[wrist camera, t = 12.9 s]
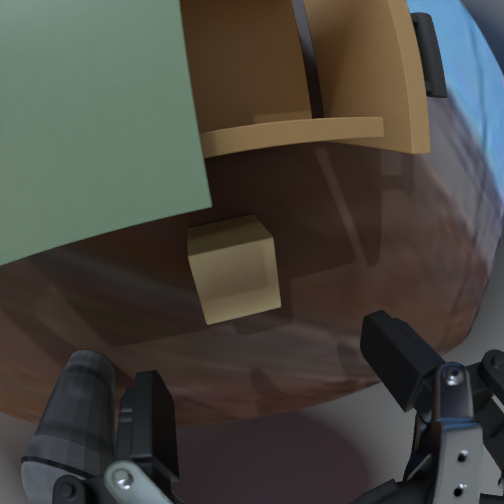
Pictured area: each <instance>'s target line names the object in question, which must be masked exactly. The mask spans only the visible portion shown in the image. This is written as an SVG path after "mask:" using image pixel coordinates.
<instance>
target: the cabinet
mask: <svg viewBox="0 0 504 504" xmlns="http://www.w3.org/2000/svg"><path fill="white" fill-rule="evenodd" d="M211 207H212V200H211V194H210V189H209V184H208V179H207V173H206V168H205V162H204V157H203V151H202V145H201V140H200V134H199V128H198V122H197V116H196V110H195V104H194V98H193V91H192V85H191V78H190V72H189V65H188V58H187V51H186V44H185V37H184V30H183V22H182V14H181V6H180V0H0V266H2V265H5V264H8V263H10V262H13V261H16V260H19V259H22V258H25V257H28V256H31V255H34V254H37V253H41V252H44V251H47V250H50V249H53V248H57V247H60V246H63V245H66V244H70V243H73V242H77V241H80V240H83V239H87V238H90V237H94V236H97V235H101V234H105V233H108V232H112V231H116V230H119V229H123V228H127V227H131V226H135V225H139V224H143V223H147V222H151V221H155V220H159V219H163V218H167V217H171V216H175V215H180V214H184V213H188V212H193V211H197V210H202V209H206V208H211Z"/></svg>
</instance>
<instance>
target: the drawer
mask: <svg viewBox="0 0 504 504" xmlns="http://www.w3.org/2000/svg"><path fill="white" fill-rule="evenodd" d="M303 1H304V6H305V10H306V14H307V19H308V23H309V28H310V33H311V37H312V43H313V48H314V53H315V59H316V64H317V70H318V76H319V83H320V89H321V96H322V103H323V111H324V118H318V119H312V113H311V106H310V99H309V92H308V85H307V79H306V73H305V67H304V61H303V55H302V50H301V44H300V39H299V34H298V29H297V24H296V20H295V15H294V11H293V6H292V2H291V0H180V6H181V14H182V22H183V30H184V37H185V44H186V51H187V58H188V65H189V72H190V78H191V85H192V91H193V98H194V104H195V110H196V116H197V122H198V128H199V134H200V140H201V145H202V151H203V157H204V158H209V157H214V156H219V155H225V154H230V153H236V152H242V151H248V150H255V149H261V148H268V147H275V146H283V145H291V144H300V143H309V142H320V141H327V142H332V143H341V144H350V145H357V146H365V147H372V148H378V149H385V150H391V151H396V152H402V153H407V154H412V155H414V154H430V131H429V117H428V106H427V97H426V96H428V97H436V98H447V92H446V84H445V77H444V71H443V65H442V60H441V55H440V50H439V46H438V41H437V37H436V33H435V29H434V25H433V22H432V18H431V16H430V15H429V14H427V13H421V12H417V13H410V12H409V9H408V6H407V2H406V0H303Z"/></svg>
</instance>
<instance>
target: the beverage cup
mask: <svg viewBox="0 0 504 504" xmlns="http://www.w3.org/2000/svg"><path fill="white" fill-rule="evenodd" d="M115 376H116V374H115V369H114V367H113V365H112V364H111V363H110V361H109V360H108V359H106V358H105V357H103V356H102V355H100V354H98V353H96V352H93V351H89V350H78V351H76V352H74V353H73V354H72V355H71V356H70V359H69V361H68V362H67V364H66V366H65V367H64V368H63V370H62V372H61V375H60V377H59V379H58V381H57V383H56V385H55V387H54V390H53V392H52V394H51V396H50V399H49V401H48V403H47V406H46V408H45V410H44V413H43V415H42V418H41V420H40V423H39V425H38V428H37V431H36V433H35V436H34V437H33V438H32V439H31V441H30V443H29V445H28V447H27V449H26V451H25V455H24V456H23V457H22V458H21V464H22V471H21V474H22V482H23V486H24V489H25V492H26V494H27V497H28V499H29V500H30V502H31V504H52V496H53V486H54V483H55V481H56V480H57V479H58V478H59V477H61V476H63V475H73V476H75V477H77V478H79V479H80V480H85V479H89V478H92V477H96V476H100V475H102V474H104V473H105V471H106V469H107V467H108V466H109V465H111V464H112V463H114V461H115V392H116V387H115Z"/></svg>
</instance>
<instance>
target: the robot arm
mask: <svg viewBox="0 0 504 504" xmlns="http://www.w3.org/2000/svg"><path fill="white" fill-rule="evenodd" d="M360 348H361V352H362V354H363V356H364V358H365V359H366V361H367V362H368V363H369V365H370V366H371V367H372V369H373V370H374V371H375V373H376V374H377V375H378V377H379V378H380V379H381V381H382V382H383V383H384V385H385V386H386V388H387V389H388V390H389V391H390V393H391V394H392V396H393V397H394V398H395V400H396V401H397V403H398V404H399V405H400V407H401V408H402V409H403V411H404V412H407V411H409V410H411V409H412V408H415V410H416V411H417V413H416V416H415V426H414V434H413V442H412V449H411V455H410V458H409V461H408V463H407V465H406V468H405V471H404V475H403V480H402V481H401V482H395V480H394V479H391V480H389V481H388V482H385V483H384V484H382V485H380V486H378V487H376V488H374V489H372V490H370V491H368V492H365V493H364V494H362V495H361V496H359V497H358V498H357V499H355V500H354V501H353V502H351V503H350V504H504V413H503V412H502V411H501V409H500V408H499V407H498V406H497V404H496V403H495V402H494V400H493V399H492V397H493V396H494V394H495V395H496V396H497V398H498V399H499V400H500V401H501V403H502V404H503V405H504V352H502V351H500V350H490V351H488V352H487V353H485V355H484V357H483V359H482V361H481V362H479V363H475V364H472V365H469V366H463V365H462V364H460V363H457V362H445V361H444V360H443V359H442V358H441V357H440V356H439V355H438V354H437V353H436V352H435V351H434V350H433V349H432V348H431V347H430V346H429V345H428V344H427V343H426V342H425V341H424V340H423V339H421V337H420V336H419V335H418V334H417V333H415V331H414V330H413V329H412V328H411V327H410V326H409V325H408V324H407V323H406V322H404V321H402V320H400V319H398V318H393V319H392V318H391V317H390V316H389V315H388V314H387V313H386V312H385V311H383V310H379V311H377V312H374V313H371V314H369V315H366V316H364V318H363V324H362V333H361V340H360ZM483 444H484V445H485V447H486V449H487V450H488V452H489V453H490V454H491V456H492V458H493V459H494V461H495V462H496V464H497V465H498V467H499V469H500V470H501V477H500V479H499V480H498V487H499V488H503V496H497V495H488V494H482V493H480V489H481V477H482V458H483ZM179 481H180V476H179V465H178V455H177V442H176V427H175V409H174V403H173V399H172V396H171V394H170V392H169V391H168V389H167V387H166V385H165V383H164V382H163V380H162V378H161V376H160V374H159V373H158V371H157V370H152V371H146V372H139V373H137V374H136V377H135V386H134V387H131V388H127V389H126V391H125V393H124V395H123V396H122V398H121V403H120V413H119V423H118V431H117V443H116V456H115V461H114V463H112V464H111V465H109V466H108V467H107V469H106V471H105V473H104V474H102V475H100V476H96V477H92V478H89V479H85V480H80V479H79V478H77V477H75V476H73V475H63V476H61V477H59V478H58V479H57V480H56V481H55V483H54V486H53V496H52V504H184V503H183V502H182V501H181V500H180V499H179V498H178V497H177V496H176V495H174V493H172V489H171V482H179Z"/></svg>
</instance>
